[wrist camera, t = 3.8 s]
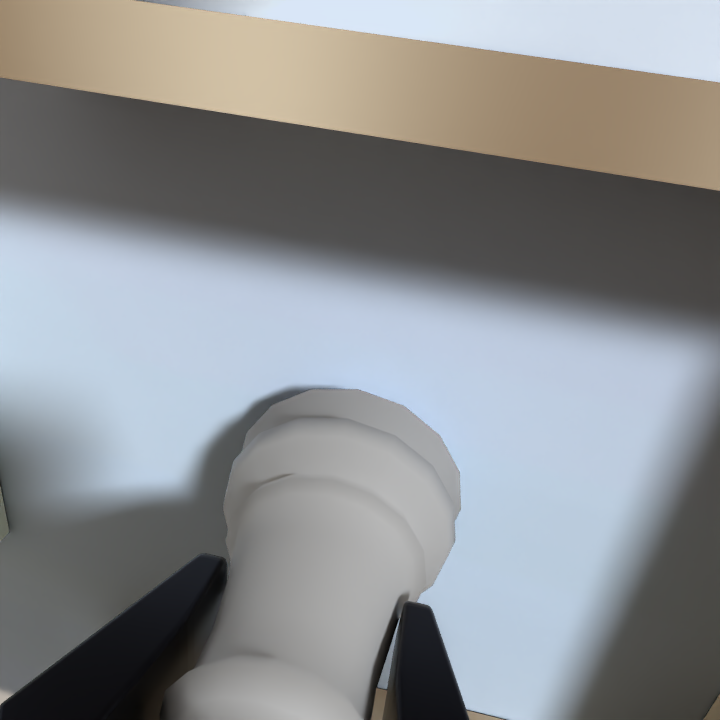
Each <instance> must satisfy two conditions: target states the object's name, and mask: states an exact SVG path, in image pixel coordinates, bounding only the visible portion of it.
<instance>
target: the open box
mask: <svg viewBox="0 0 720 720" xmlns="http://www.w3.org/2000/svg"><path fill="white" fill-rule="evenodd" d="M0 78H7V79H13V80H19V81H26V82H32V83H39V84H45V85H51V86H58V87H64V88H70V89H77V90H83V91H89V92H96V93H102V94H108V95H115V96H121V97H127V98H134V99H140V100H147V101H153V102H159V103H166V104H172V105H178V106H185V107H191V108H197V109H204V110H210V111H216V112H223V113H229V114H235V115H242V116H248V117H255V118H261V119H267V120H274V121H280V122H286V123H293V124H299V125H305V126H312V127H318V128H324V129H331V130H337V131H343V132H350V133H356V134H363V135H369V136H375V137H382V138H388V139H394V140H401V141H407V142H413V143H420V144H426V145H432V146H439V147H445V148H451V149H458V150H464V151H471V152H477V153H483V154H490V155H496V156H502V157H509V158H515V159H521V160H528V161H534V162H540V163H547V164H553V165H559V166H566V167H572V168H579V169H585V170H591V171H598V172H604V173H610V174H617V175H623V176H629V177H636V178H642V179H648V180H655V181H661V182H667V183H674V184H680V185H687V186H693V187H699V188H706V189H712V190H718V191H720V83H719V82H712V81H705V80H698V79H690V78H683V77H676V76H669V75H662V74H655V73H648V72H641V71H634V70H626V69H619V68H612V67H605V66H598V65H591V64H584V63H577V62H569V61H562V60H555V59H548V58H541V57H534V56H527V55H520V54H513V53H505V52H498V51H491V50H484V49H477V48H470V47H463V46H456V45H448V44H441V43H434V42H427V41H420V40H413V39H406V38H399V37H392V36H384V35H377V34H370V33H363V32H356V31H349V30H342V29H335V28H327V27H320V26H313V25H306V24H299V23H292V22H285V21H278V20H270V19H263V18H256V17H249V16H242V15H235V14H228V13H221V12H214V11H206V10H199V9H192V8H185V7H178V6H171V5H164V4H157V3H149V2H142V1H135V0H0ZM386 693H387V690H383V689H379V688H376V694H375V700H374V706H373V711H372V717H371V720H382V718H383V711H384V705H385V699H386ZM467 713H468V716H469V719H470V720H503V719H499V718H495V717H491V716H487V715H483V714H479V713H475V712H471V711H467ZM703 720H720V694H719V696H718V698H717V699H716V701H715V702H714V704H713V705H712V707H711V708H710V710H709V712H708V713H707V715H706V716H705V718H704V719H703Z"/></svg>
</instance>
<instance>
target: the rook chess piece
mask: <svg viewBox="0 0 720 720" xmlns="http://www.w3.org/2000/svg"><path fill="white" fill-rule="evenodd" d="M460 510H461V499H460V472H459V470H458V468H457V466H456V465H455V463H454V461H453V459H452V457H451V455H450V453H449V451H448V450H447V448H446V446H445V444H444V442H443V440H442V438H441V437H440V435H439V434H438V433H436V432H435V431H434V430H433V429H431V428H430V427H429V426H428V425H427V424H425V423H424V422H423V421H422V420H421V419H419V418H418V417H417V416H416V415H414V414H413V413H412V412H411V411H410V410H408V409H407V408H406V407H405V406H403V405H400V404H397V403H395V402H392V401H389V400H386V399H384V398H381V397H378V396H375V395H372V394H370V393H367V392H364V391H361V390H358V389H311V390H308V391H306V392H303V393H301V394H298V395H295V396H293V397H290V398H288V399H285V400H283V401H280V402H278V403H275V404H273V405H271V406H270V408H269V409H268V410H267V411H266V412H265V413H264V414H263V415H262V416H261V417H260V418H259V419H258V421H257V422H256V423H255V424H254V425H253V426H252V427H251V428H250V429H249V430H248V431H247V433H246V437H245V441H244V445H243V449H242V452H241V453H240V454H239V455H238V456H237V458H236V459H235V460H234V461H233V465H232V469H231V473H230V477H229V481H228V485H227V489H226V493H225V499H224V505H223V512H224V516H225V520H226V524H227V528H228V533H227V536H226V540H225V541H226V545H227V549H228V553H229V557H230V561H231V563H230V571H229V577H228V580H227V583H226V587H225V590H224V593H223V597H222V600H221V603H220V606H219V610H218V613H217V616H216V620H215V623H214V626H213V629H212V631H211V633H210V636H209V638H208V640H207V642H206V644H205V646H204V648H203V650H202V653H201V655H200V657H199V659H198V661H197V663H196V665H195V668H194V669H193V670H190V671H188V672H187V673H186V674H184V675H183V676H182V677H181V678H180V679H178V680H177V681H176V682H175V683H174V684H172V685H171V686H170V687H169V688H167V689H166V690H165V693H164V698H163V702H162V706H161V710H160V715H159V716H160V720H371V717H372V711H373V706H374V700H375V694H376V688H377V685H378V682H379V679H380V676H381V673H382V670H383V666H384V663H385V660H386V657H387V654H388V651H389V648H390V645H391V642H392V639H393V635H394V632H395V629H396V626H397V623H398V620H399V618H401V613H402V609H403V605H404V603H405V602H406V601H412V602H417V600H418V598H419V596H420V594H421V593H423V592H424V591H425V590H427V589H428V588H430V587H431V586H433V584H434V582H435V580H436V578H437V576H438V574H439V572H440V570H441V568H442V566H443V564H444V563H445V561H446V559H447V557H448V555H449V553H450V551H451V549H452V547H453V545H454V543H455V520H456V518H457V516H458V514H459V512H460Z"/></svg>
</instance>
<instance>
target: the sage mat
mask: <svg viewBox="0 0 720 720" xmlns="http://www.w3.org/2000/svg"><path fill="white" fill-rule="evenodd" d="M8 533H9V527H8V522H7V517H6V512H5V507H4V502H3V497H2V491H1V486H0V542H1V541H2V540H3V539H4V538H5V536H6V535H7V534H8Z"/></svg>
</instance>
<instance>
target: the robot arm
mask: <svg viewBox="0 0 720 720" xmlns="http://www.w3.org/2000/svg"><path fill="white" fill-rule="evenodd" d="M226 583H227V561H226V559H225V558H223V557H220V556H215V555H211V554H207V553H203V554H200V555H198V556H197V557H195V558H194V559H193V560H191V561H190V562H189V563H187V564H186V565H185V566H183V567H182V568H181V569H179V570H178V571H177V572H175V573H174V574H173V575H171V576H170V577H169V578H167V579H166V580H165V581H163V582H162V583H161V584H159V585H158V586H157V587H155V588H154V589H153V590H151V591H150V592H149V593H147V594H146V595H145V596H143V597H142V598H141V599H139V600H138V601H137V602H136V603H134V604H133V605H132V606H130V607H129V608H128V609H126V610H125V611H124V612H122V613H121V614H120V615H118V616H117V617H116V618H114V619H113V620H112V621H110V622H109V623H108V624H106V625H105V626H104V627H102V628H101V629H100V630H98V631H97V632H96V633H94V634H93V635H92V636H90V637H89V638H88V639H86V640H85V641H84V642H82V643H81V644H80V645H79V646H77V647H76V648H75V649H73V650H72V651H71V652H69V653H68V654H67V655H65V656H64V657H63V658H61V659H60V660H59V661H57V662H56V663H55V664H53V665H52V666H51V667H49V668H48V669H47V670H45V671H44V672H43V673H41V674H40V675H39V676H37V677H36V678H35V679H33V680H32V681H31V682H29V683H28V684H27V685H25V686H24V687H23V688H22V689H20V690H19V691H18V692H16V693H15V694H14V695H12V696H11V697H10V698H8V699H7V700H6V701H4V702H3V703H2V704H1V705H0V720H160V716H159V715H160V710H161V706H162V702H163V698H164V693H165V690H166V689H167V688H169V687H170V686H171V685H172V684H174V683H175V682H176V681H177V680H178V679H180V678H181V677H182V676H183V675H184V674H186V673H187V672H188V671H190V670H193V669H194V668H195V665H196V663H197V661H198V659H199V657H200V655H201V653H202V650H203V648H204V646H205V644H206V642H207V640H208V638H209V636H210V633H211V631H212V629H213V626H214V623H215V620H216V616H217V613H218V610H219V606H220V603H221V600H222V597H223V593H224V590H225V587H226ZM382 720H470V719H469V716H468V713H467V710H466V707H465V704H464V701H463V699H462V696H461V693H460V690H459V687H458V684H457V681H456V678H455V675H454V672H453V669H452V666H451V663H450V660H449V657H448V654H447V652H446V649H445V646H444V643H443V640H442V637H441V634H440V631H439V628H438V625H437V622H436V619H435V616H434V613H433V611H432V609H431V607H430V606H428V605H425V604H421V603H416V602H412V601H406V602H405V603H404V605H403V609H402V613H401V618H400V622H399V627H398V631H397V636H396V640H395V646H394V651H393V657H392V663H391V669H390V675H389V681H388V687H387V693H386V699H385V705H384V711H383V718H382Z"/></svg>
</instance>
